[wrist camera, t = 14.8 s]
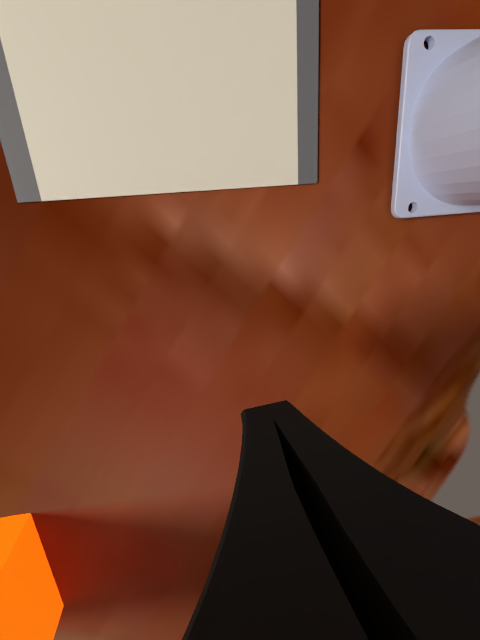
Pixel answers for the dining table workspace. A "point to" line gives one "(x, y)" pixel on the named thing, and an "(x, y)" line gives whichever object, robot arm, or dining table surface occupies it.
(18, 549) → the orange juice
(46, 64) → the game board
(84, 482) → the dining table surface
